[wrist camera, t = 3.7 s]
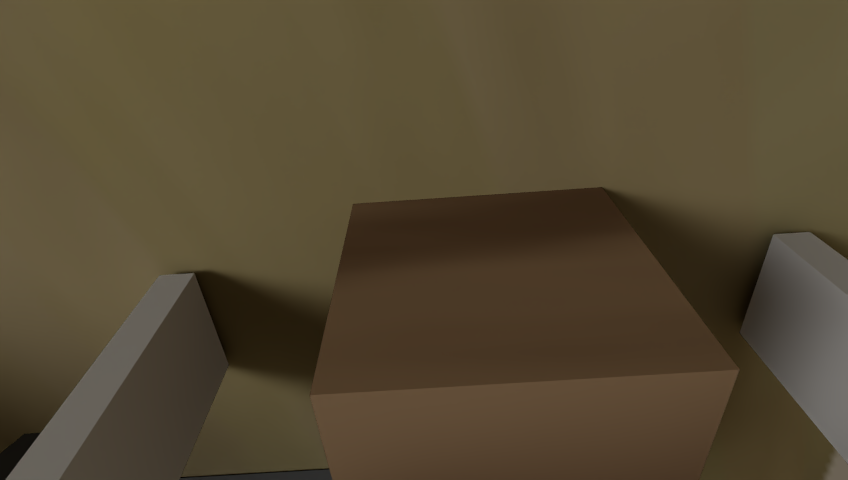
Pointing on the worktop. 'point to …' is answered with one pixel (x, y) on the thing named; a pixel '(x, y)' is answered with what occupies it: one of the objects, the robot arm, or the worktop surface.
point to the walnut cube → (512, 347)
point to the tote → (273, 476)
